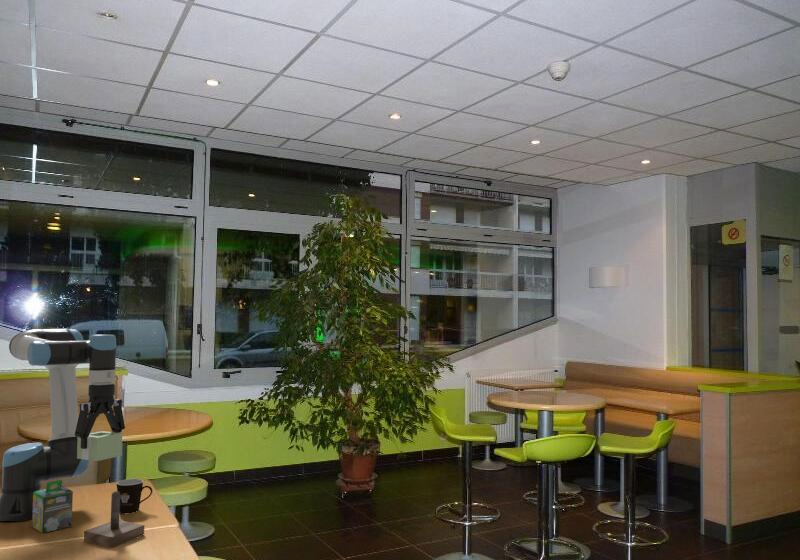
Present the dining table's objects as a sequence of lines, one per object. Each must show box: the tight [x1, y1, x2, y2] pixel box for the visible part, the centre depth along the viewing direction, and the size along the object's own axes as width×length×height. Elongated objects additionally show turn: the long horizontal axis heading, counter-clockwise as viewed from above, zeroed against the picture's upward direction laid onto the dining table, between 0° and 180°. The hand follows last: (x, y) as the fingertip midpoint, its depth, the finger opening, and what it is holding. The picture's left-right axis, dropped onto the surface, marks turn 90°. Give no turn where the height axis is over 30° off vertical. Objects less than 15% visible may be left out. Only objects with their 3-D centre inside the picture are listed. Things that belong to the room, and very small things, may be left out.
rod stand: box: [83, 490, 145, 548], centre depth 195 cm, size 12×12×14 cm
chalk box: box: [31, 479, 74, 534], centre depth 205 cm, size 9×9×15 cm
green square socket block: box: [77, 430, 123, 462], centre depth 199 cm, size 9×9×7 cm
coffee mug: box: [116, 478, 153, 515], centre depth 221 cm, size 12×9×10 cm
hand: (99, 456), depth 198 cm, fingers closed on green square socket block, 9 cm apart
